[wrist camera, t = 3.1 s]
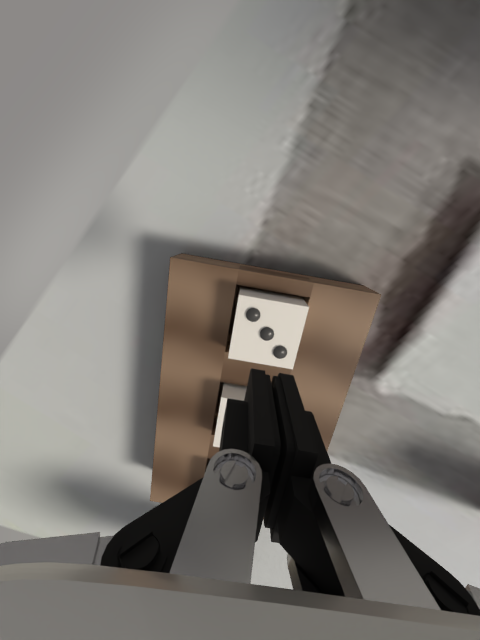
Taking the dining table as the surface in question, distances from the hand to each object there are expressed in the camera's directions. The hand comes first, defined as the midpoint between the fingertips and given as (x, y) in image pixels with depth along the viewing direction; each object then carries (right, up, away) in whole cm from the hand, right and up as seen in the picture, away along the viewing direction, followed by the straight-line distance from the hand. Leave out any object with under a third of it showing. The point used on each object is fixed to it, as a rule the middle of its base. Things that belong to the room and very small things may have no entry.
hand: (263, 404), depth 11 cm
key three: (+1, +3, +9) cm, 10 cm away
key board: (0, -3, +13) cm, 14 cm away
